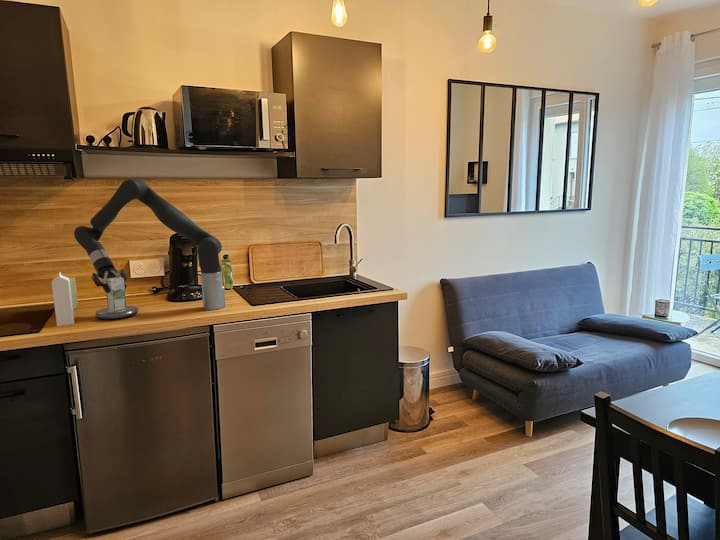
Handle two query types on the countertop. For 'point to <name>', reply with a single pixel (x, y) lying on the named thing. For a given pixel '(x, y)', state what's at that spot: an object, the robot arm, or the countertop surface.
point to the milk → (63, 300)
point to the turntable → (116, 313)
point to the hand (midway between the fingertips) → (117, 290)
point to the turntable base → (117, 318)
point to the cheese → (73, 292)
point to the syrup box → (116, 294)
